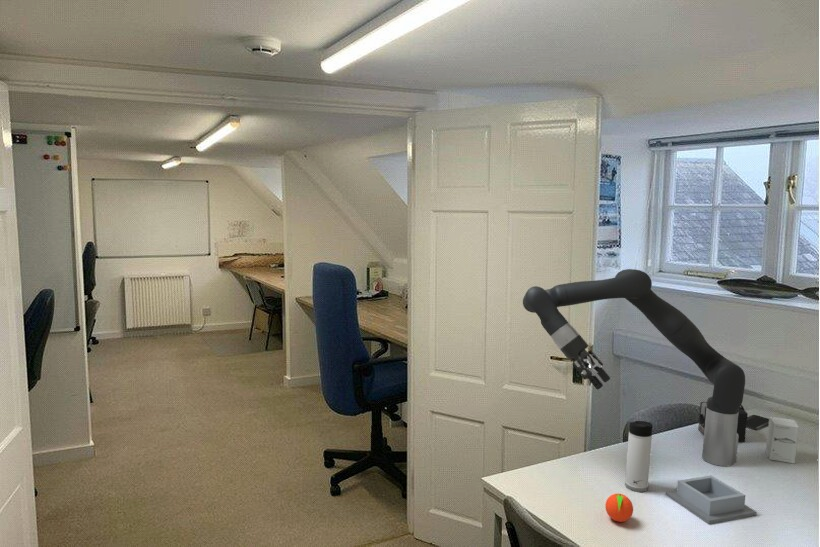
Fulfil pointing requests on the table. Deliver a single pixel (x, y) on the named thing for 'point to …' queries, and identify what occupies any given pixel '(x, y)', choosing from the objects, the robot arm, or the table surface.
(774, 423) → the supplement box
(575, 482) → the table surface
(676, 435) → the table surface
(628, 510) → the clementine
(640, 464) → the travel mug
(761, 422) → the phone
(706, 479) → the mug dock
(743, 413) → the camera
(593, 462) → the table surface
